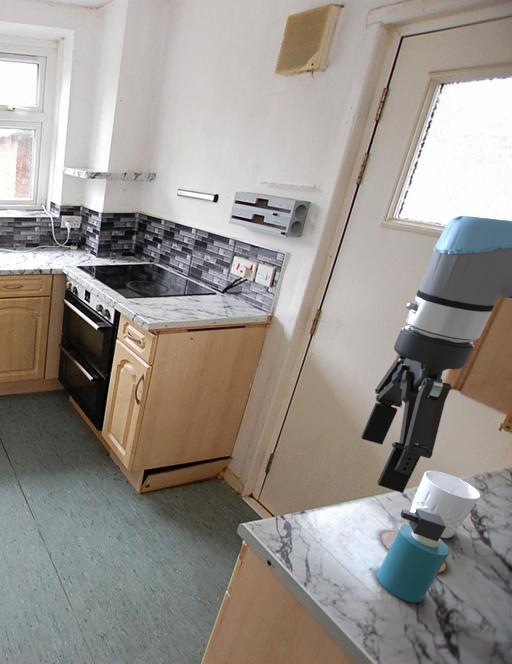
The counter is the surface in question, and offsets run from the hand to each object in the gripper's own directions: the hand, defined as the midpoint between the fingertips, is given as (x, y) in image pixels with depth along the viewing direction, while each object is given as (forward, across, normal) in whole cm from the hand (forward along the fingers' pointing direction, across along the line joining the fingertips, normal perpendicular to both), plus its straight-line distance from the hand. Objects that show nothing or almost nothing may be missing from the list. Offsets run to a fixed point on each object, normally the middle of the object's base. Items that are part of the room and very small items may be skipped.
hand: (379, 462), depth 69 cm
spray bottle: (+22, -3, +10) cm, 25 cm away
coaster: (+22, -14, +14) cm, 30 cm away
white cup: (+23, -25, +19) cm, 39 cm away
